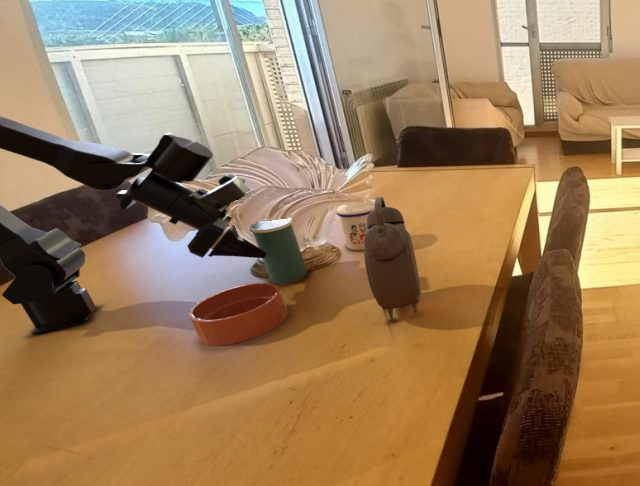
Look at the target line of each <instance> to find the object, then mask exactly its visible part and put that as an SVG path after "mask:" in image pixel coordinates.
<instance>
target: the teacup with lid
mask: <svg viewBox="0 0 640 486" xmlns="http://www.w3.org/2000/svg"><path fill="white" fill-rule="evenodd" d="M367 199H368V202H367V203H363V204H358V205H344V204H342V205H343V206H342V205H339V207H337V209H336V215H337V216H338V218H339V222H340V226H341V229H342V233H343V236H344V241H345V243H346V247H347V248H348V249H350V250H353V251H364V249H365V247H364V237H365V234H366V233H367V230H368V229H367V216H368V214H369V213H370V212H371V211H373V210H374V209H375V199H369V198H367Z"/></svg>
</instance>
